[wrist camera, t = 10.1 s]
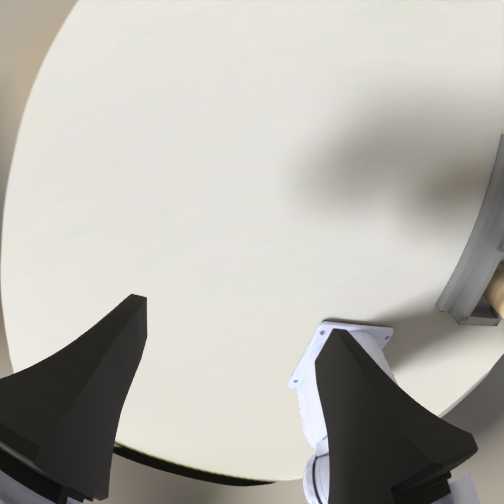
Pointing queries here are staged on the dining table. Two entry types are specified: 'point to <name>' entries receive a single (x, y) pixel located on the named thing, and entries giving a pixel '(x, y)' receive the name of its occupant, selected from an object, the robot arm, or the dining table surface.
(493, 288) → the oak peg
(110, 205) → the dining table surface
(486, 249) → the rack
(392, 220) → the dining table surface
